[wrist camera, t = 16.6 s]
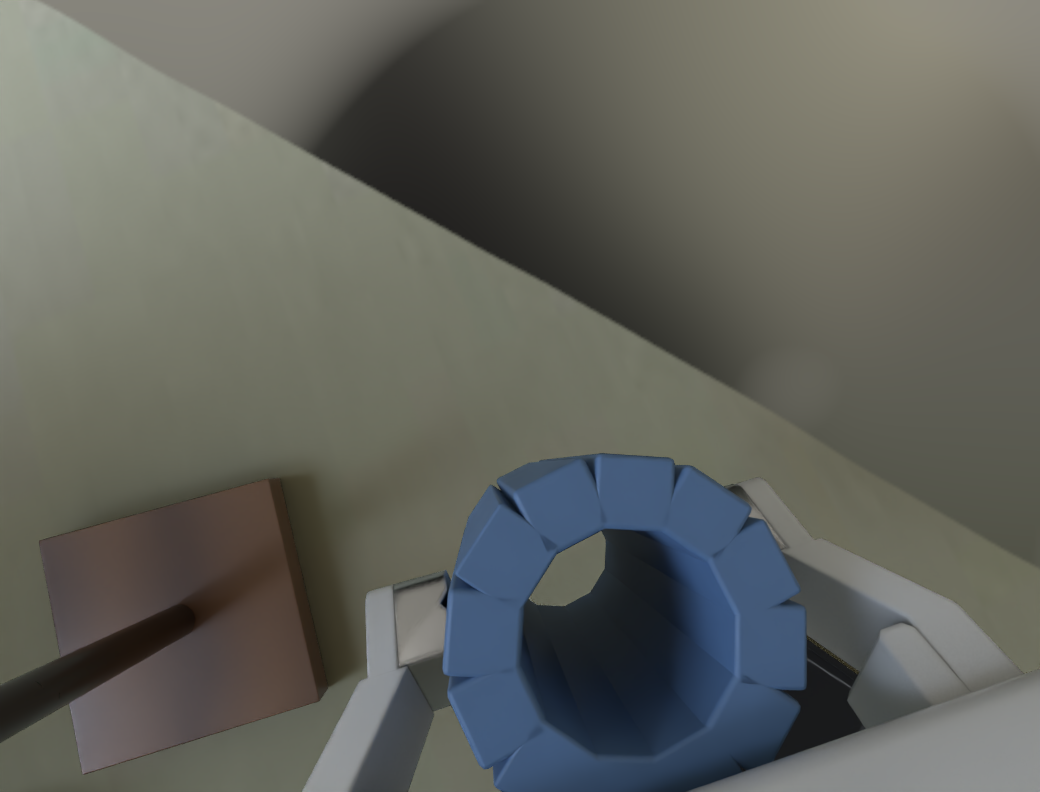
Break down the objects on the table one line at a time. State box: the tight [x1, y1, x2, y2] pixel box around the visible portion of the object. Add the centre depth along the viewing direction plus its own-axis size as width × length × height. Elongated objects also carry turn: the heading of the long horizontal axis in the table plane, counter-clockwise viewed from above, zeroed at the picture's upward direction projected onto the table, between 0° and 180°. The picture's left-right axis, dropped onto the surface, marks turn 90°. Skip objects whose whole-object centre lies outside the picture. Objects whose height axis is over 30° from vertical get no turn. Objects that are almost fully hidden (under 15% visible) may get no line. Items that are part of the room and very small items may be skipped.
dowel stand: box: [0, 478, 328, 775], centre depth 20 cm, size 10×10×12 cm
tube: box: [442, 453, 807, 792], centre depth 11 cm, size 5×5×8 cm
